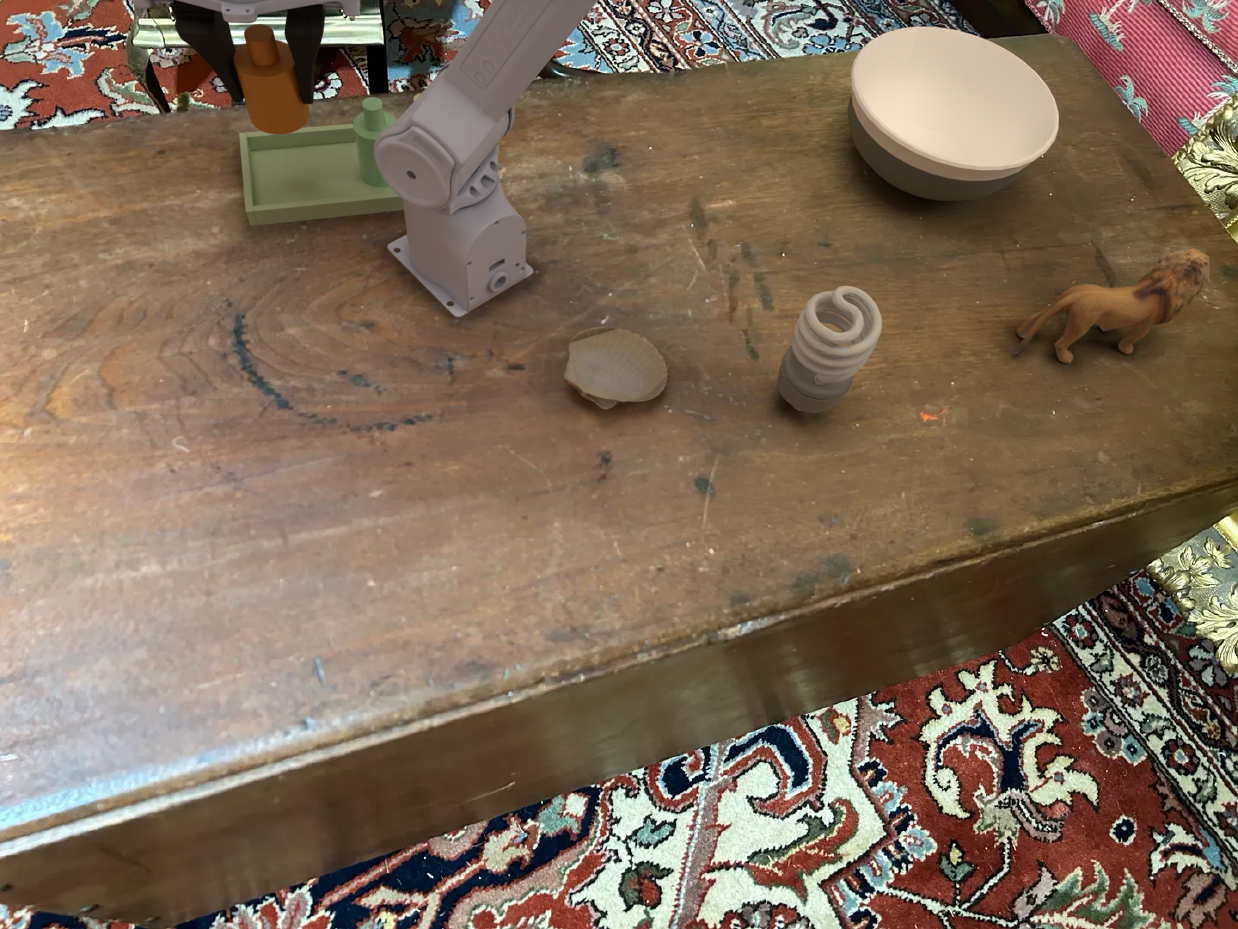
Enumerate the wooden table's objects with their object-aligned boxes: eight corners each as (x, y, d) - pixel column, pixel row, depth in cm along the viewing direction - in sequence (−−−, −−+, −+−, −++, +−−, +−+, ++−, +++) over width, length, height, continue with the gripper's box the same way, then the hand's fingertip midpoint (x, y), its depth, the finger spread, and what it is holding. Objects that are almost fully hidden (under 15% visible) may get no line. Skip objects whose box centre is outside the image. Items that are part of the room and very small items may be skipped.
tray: (467, 132, 82) (467, 113, 80) (486, 205, 78) (486, 187, 76) (244, 152, 78) (238, 132, 76) (251, 230, 73) (245, 211, 72)
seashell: (671, 392, 72) (606, 317, 73) (689, 372, 70) (621, 296, 70) (603, 443, 67) (534, 363, 68) (619, 424, 65) (547, 341, 66)
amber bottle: (319, 124, 70) (301, 42, 63) (263, 141, 68) (240, 59, 62) (295, 89, 71) (275, 6, 65) (240, 106, 70) (215, 22, 64)
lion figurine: (1130, 300, 80) (1196, 226, 73) (1166, 346, 78) (1239, 275, 70) (993, 334, 77) (1048, 261, 69) (1027, 384, 74) (1088, 314, 66)
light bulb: (838, 437, 70) (896, 341, 59) (767, 432, 69) (813, 334, 59) (831, 377, 72) (885, 276, 62) (762, 372, 72) (805, 269, 62)
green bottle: (412, 175, 78) (404, 107, 72) (377, 193, 76) (366, 125, 70) (387, 151, 79) (377, 82, 73) (352, 168, 77) (339, 99, 71)
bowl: (865, 248, 80) (900, 176, 73) (797, 106, 89) (822, 29, 82) (1049, 227, 84) (1099, 157, 77) (965, 93, 93) (1004, 19, 86)
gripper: (88, -61, 53) (163, 128, 65) (343, -48, 55) (371, 132, 67) (109, -126, 57) (177, 64, 68) (348, -113, 59) (374, 70, 70)
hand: (274, 94), depth 68 cm, fingers closed on amber bottle, 4 cm apart
